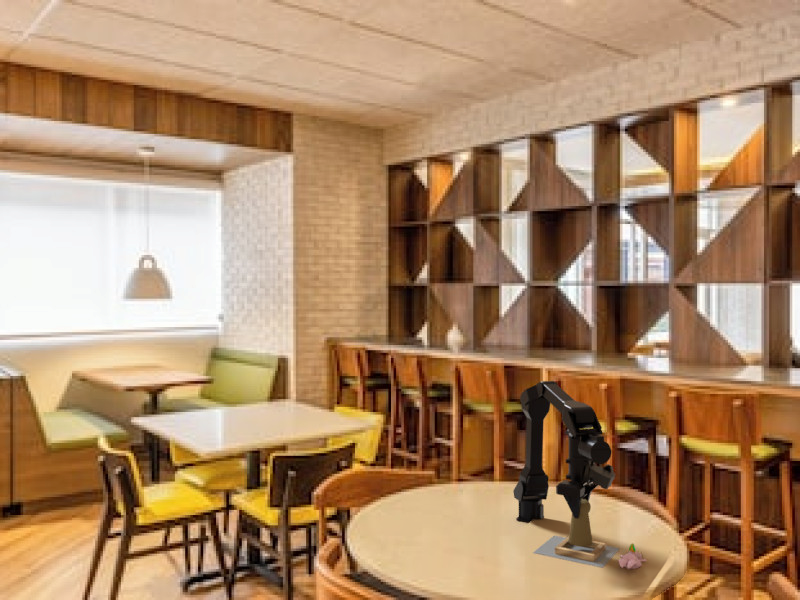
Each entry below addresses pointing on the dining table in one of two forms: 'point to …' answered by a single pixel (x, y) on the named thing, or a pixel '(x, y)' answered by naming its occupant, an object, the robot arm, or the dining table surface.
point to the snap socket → (592, 556)
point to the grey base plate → (601, 561)
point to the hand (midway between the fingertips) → (580, 515)
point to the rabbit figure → (631, 558)
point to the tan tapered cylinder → (581, 527)
